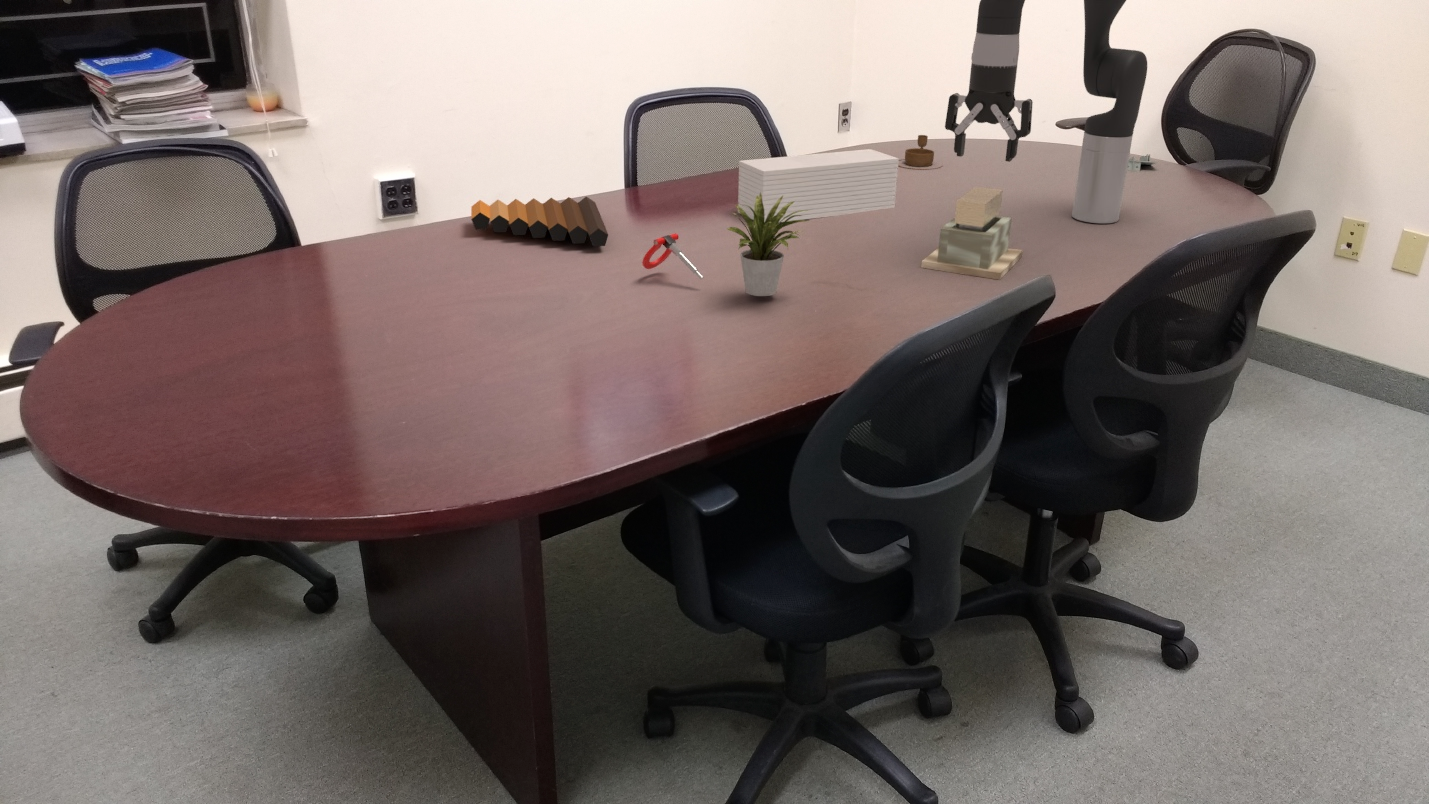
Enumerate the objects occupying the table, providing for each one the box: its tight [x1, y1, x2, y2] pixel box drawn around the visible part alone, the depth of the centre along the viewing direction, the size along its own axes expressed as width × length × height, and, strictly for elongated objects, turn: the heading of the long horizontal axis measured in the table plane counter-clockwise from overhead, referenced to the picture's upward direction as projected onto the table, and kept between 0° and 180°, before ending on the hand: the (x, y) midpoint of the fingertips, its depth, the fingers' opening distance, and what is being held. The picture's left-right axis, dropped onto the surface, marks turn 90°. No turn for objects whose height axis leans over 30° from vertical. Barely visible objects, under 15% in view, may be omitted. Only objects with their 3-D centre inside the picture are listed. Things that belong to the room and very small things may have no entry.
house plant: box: [727, 193, 810, 297], centre depth 177 cm, size 14×14×16 cm
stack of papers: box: [737, 148, 900, 223], centre depth 230 cm, size 32×11×11 cm, turn 116°
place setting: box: [897, 134, 944, 171], centre depth 272 cm, size 18×20×6 cm
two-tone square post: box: [954, 186, 1004, 232], centre depth 196 cm, size 12×5×11 cm, turn 152°
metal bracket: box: [1127, 154, 1158, 173], centre depth 269 cm, size 14×6×15 cm
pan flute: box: [470, 196, 609, 247], centre depth 213 cm, size 25×3×25 cm
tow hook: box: [641, 233, 704, 280], centre depth 189 cm, size 7×10×7 cm
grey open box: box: [920, 215, 1023, 281], centre depth 197 cm, size 16×14×7 cm
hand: (984, 158), depth 191 cm, fingers open, 8 cm apart
